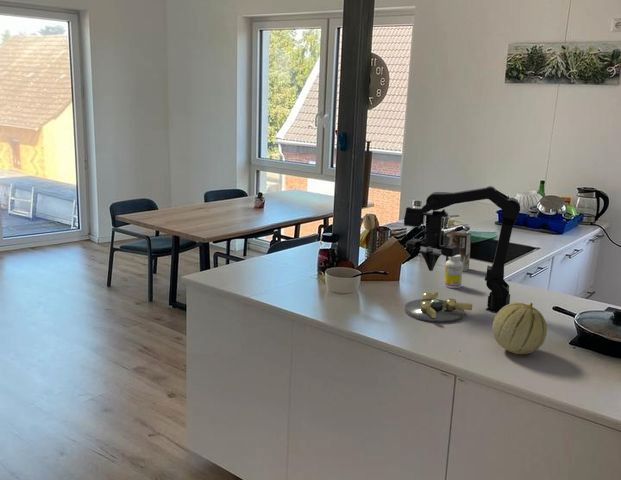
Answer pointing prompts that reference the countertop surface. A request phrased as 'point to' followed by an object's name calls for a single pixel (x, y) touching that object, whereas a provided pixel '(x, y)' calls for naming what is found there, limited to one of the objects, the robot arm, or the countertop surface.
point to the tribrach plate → (439, 314)
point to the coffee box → (461, 246)
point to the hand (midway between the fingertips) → (430, 270)
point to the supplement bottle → (453, 272)
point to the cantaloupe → (519, 328)
